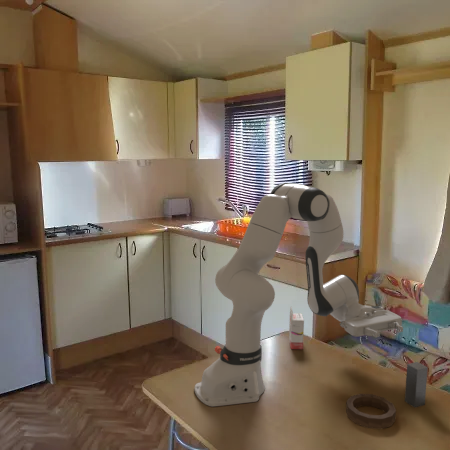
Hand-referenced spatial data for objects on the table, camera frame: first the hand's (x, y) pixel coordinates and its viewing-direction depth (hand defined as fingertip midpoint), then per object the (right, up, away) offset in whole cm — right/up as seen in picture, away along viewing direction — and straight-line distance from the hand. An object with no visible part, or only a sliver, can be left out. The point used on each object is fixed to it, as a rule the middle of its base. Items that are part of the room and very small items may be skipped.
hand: (390, 332), depth 152 cm
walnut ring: (-11, -21, -15) cm, 28 cm away
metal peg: (+5, -20, -8) cm, 22 cm away
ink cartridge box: (-25, -13, +34) cm, 44 cm away
